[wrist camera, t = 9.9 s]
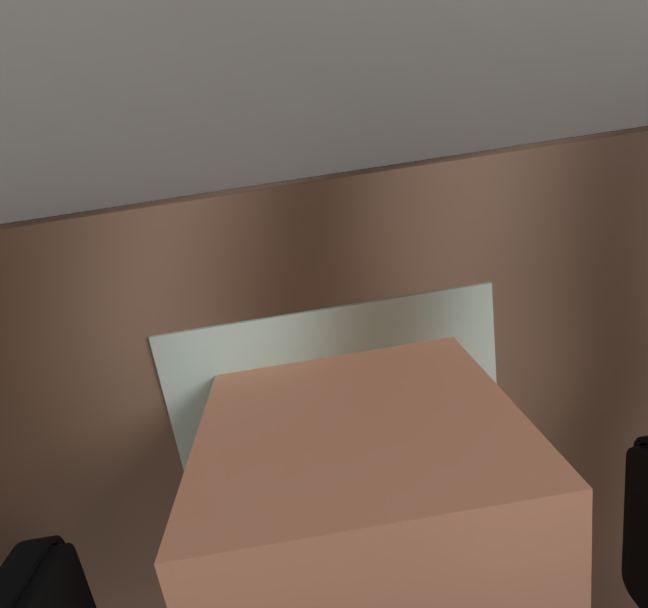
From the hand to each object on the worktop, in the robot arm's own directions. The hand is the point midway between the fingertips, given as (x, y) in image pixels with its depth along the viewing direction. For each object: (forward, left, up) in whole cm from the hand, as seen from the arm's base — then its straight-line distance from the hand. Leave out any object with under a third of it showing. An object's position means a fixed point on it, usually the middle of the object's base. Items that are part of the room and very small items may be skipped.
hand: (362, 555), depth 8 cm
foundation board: (0, 0, -5) cm, 5 cm away
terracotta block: (0, 0, -3) cm, 3 cm away
